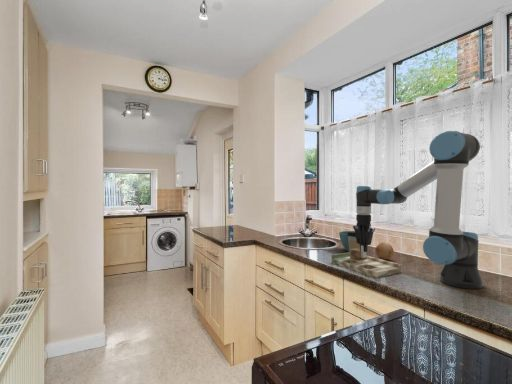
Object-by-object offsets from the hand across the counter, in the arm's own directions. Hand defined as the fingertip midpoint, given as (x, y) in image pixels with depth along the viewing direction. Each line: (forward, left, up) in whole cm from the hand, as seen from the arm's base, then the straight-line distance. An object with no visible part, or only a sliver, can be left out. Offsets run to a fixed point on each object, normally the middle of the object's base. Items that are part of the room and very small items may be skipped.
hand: (363, 257), depth 149 cm
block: (+4, 0, -2) cm, 4 cm away
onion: (+2, -20, -4) cm, 21 cm away
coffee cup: (+15, -10, -4) cm, 19 cm away
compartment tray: (-4, +4, -4) cm, 7 cm away
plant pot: (+26, -21, -4) cm, 34 cm away
